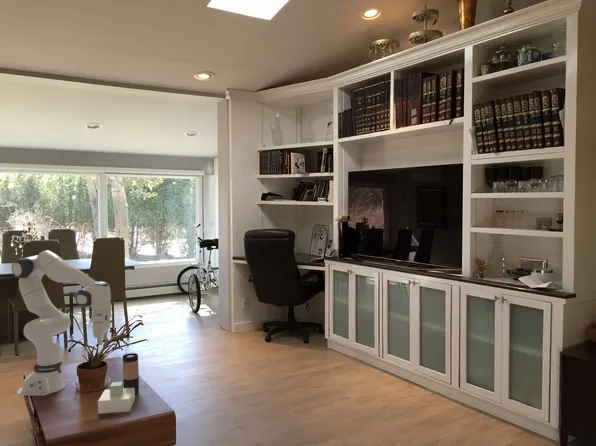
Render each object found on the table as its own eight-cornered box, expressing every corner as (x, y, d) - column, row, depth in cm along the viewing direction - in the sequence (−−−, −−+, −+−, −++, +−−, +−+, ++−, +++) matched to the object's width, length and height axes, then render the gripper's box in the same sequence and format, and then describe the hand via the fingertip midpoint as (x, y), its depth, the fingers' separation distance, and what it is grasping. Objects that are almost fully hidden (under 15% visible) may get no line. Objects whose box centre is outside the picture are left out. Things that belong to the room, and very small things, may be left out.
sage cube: (110, 396, 233) (109, 386, 233) (112, 392, 238) (112, 382, 238) (121, 395, 234) (120, 385, 233) (123, 391, 239) (122, 381, 238)
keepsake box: (98, 413, 228) (97, 401, 228) (105, 401, 242) (105, 389, 241) (129, 411, 230) (129, 398, 230) (134, 399, 244) (134, 387, 244)
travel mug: (120, 395, 250) (119, 356, 249) (131, 389, 256) (130, 352, 256) (131, 397, 246) (129, 358, 245) (142, 392, 253) (141, 354, 252)
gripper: (100, 310, 252) (101, 336, 253) (89, 319, 232) (90, 348, 233) (113, 309, 253) (113, 335, 254) (103, 318, 233) (104, 347, 234)
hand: (102, 341), depth 243 cm, fingers open, 8 cm apart
